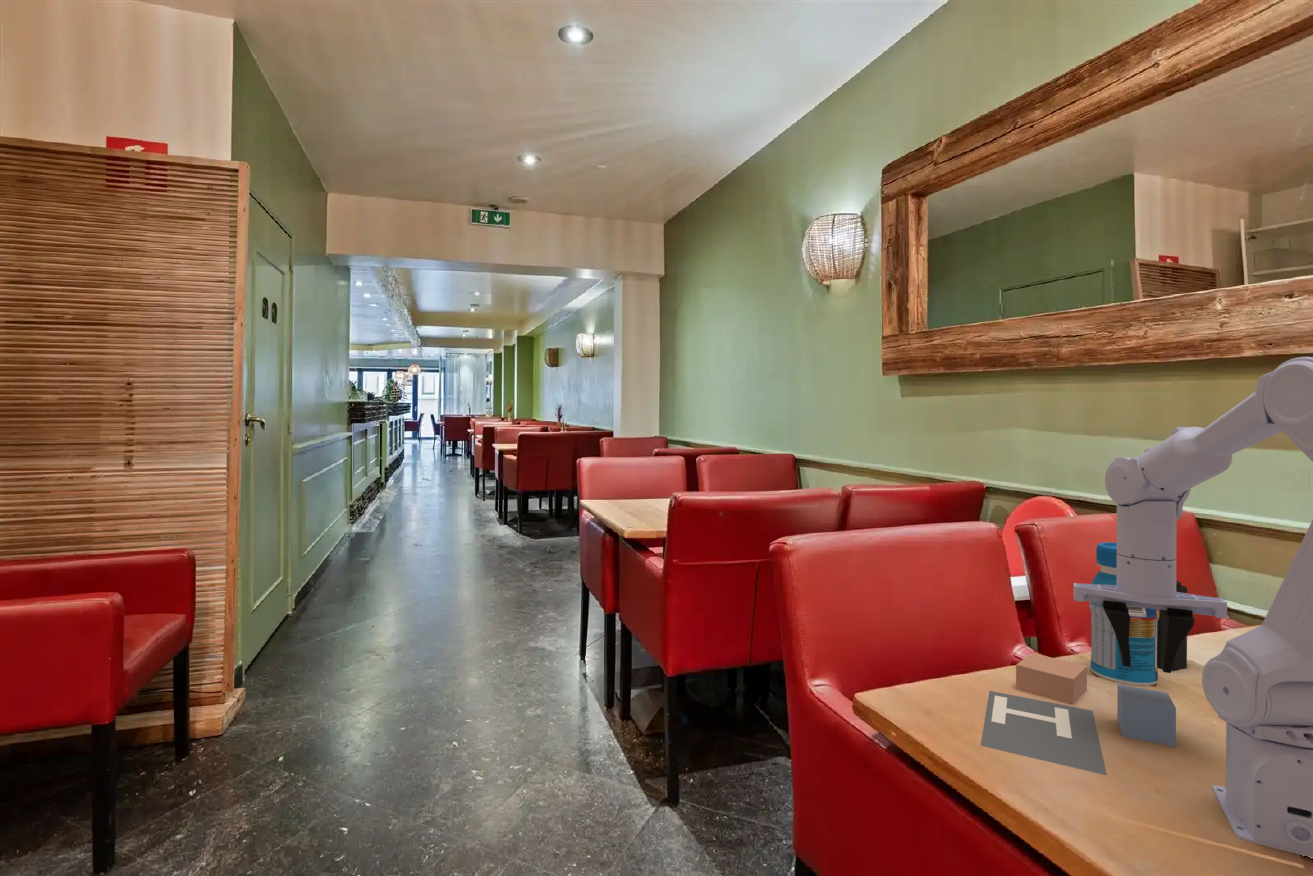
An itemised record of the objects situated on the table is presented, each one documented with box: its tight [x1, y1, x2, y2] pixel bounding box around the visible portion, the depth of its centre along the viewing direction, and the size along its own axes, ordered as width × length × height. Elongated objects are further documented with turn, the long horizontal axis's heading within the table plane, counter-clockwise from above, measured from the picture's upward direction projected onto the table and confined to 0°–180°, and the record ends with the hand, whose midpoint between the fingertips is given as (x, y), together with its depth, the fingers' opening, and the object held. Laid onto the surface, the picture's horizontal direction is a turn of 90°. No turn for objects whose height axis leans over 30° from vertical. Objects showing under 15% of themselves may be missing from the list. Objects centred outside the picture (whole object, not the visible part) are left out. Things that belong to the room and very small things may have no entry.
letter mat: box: [980, 690, 1108, 776], centre depth 76 cm, size 18×12×1 cm, turn 148°
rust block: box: [1015, 652, 1088, 705], centre depth 88 cm, size 7×7×4 cm
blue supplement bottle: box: [1088, 541, 1159, 687], centre depth 93 cm, size 8×8×20 cm
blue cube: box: [1116, 683, 1177, 748], centre depth 75 cm, size 5×5×5 cm
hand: (1145, 667), depth 75 cm, fingers open, 3 cm apart
